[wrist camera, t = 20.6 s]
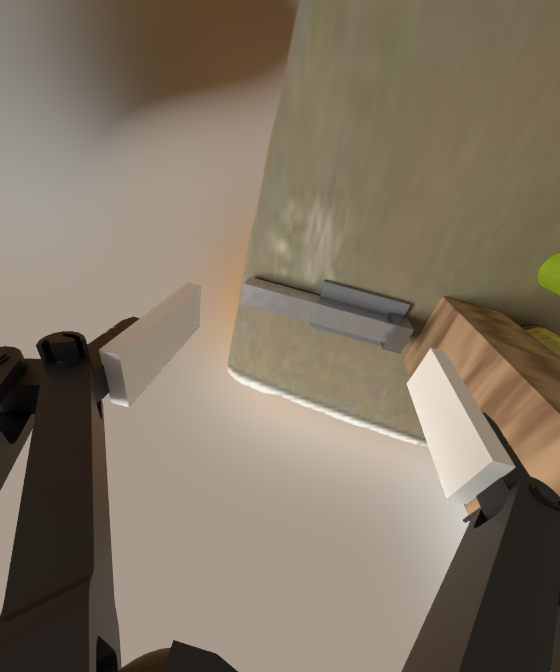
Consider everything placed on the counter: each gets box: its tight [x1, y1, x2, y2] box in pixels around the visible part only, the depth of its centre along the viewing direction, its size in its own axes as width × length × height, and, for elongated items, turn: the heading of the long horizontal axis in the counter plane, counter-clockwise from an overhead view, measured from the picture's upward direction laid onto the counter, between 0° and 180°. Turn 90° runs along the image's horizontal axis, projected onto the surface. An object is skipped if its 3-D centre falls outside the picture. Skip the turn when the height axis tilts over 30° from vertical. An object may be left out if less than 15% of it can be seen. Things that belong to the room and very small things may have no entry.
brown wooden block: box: [403, 296, 560, 515], centre depth 34 cm, size 10×14×30 cm
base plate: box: [310, 280, 410, 346], centre depth 47 cm, size 15×9×1 cm, turn 77°
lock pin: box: [241, 277, 414, 354], centre depth 44 cm, size 28×5×5 cm, turn 77°
